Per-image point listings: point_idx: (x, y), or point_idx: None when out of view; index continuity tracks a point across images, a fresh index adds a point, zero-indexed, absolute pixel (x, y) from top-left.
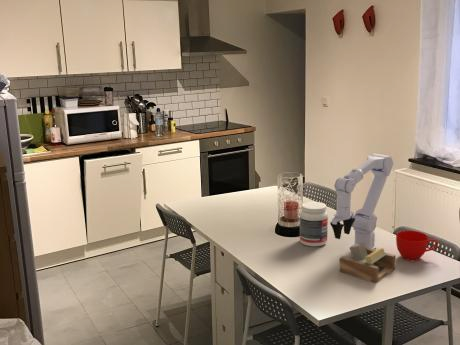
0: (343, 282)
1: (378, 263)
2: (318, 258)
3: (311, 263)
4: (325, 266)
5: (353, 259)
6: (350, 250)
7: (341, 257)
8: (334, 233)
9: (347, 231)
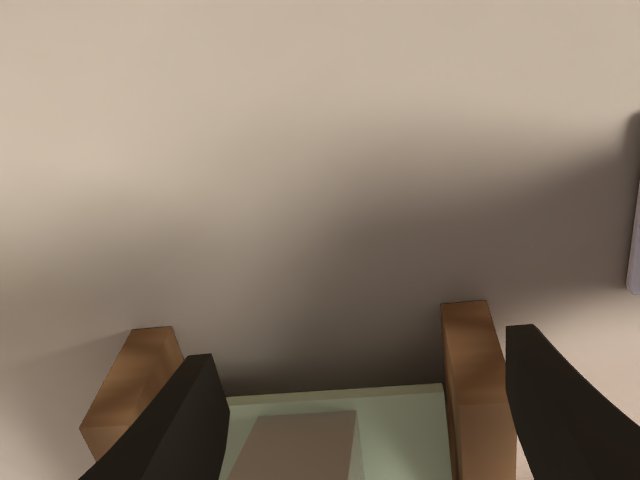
0: (39, 428)
1: (452, 470)
2: (160, 5)
3: (3, 48)
4: (92, 195)
5: (253, 428)
6: (228, 477)
7: (99, 431)
8: (145, 418)
9: (518, 411)
